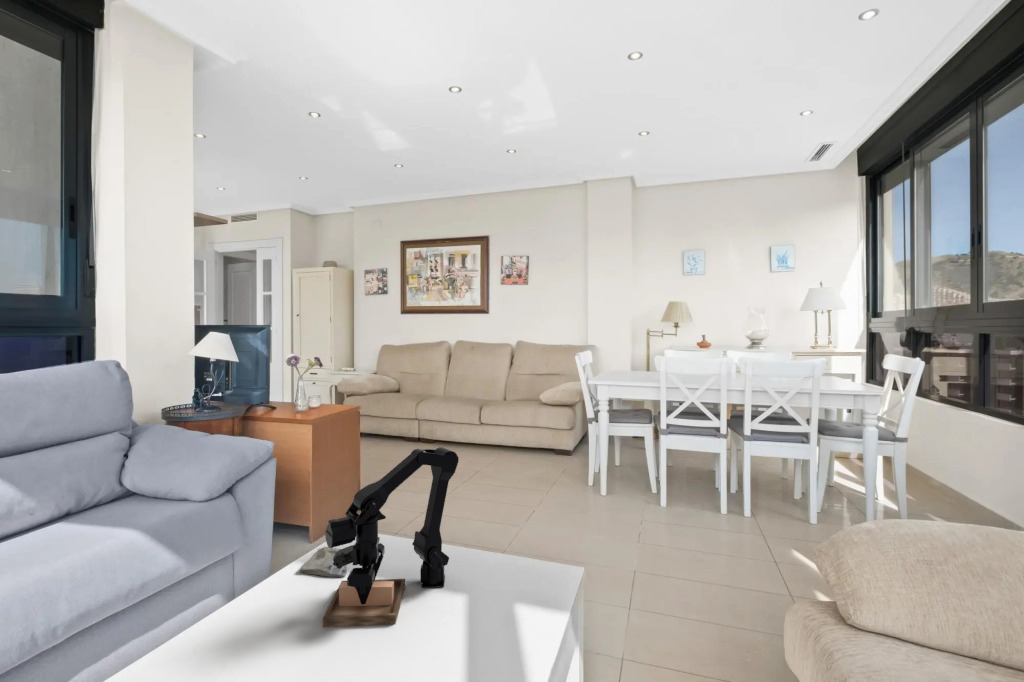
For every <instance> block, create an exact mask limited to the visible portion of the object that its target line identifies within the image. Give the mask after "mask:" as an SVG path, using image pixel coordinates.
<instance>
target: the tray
mask: <svg viewBox="0 0 1024 682" xmlns="http://www.w3.org/2000/svg"><path fill="white" fill-rule="evenodd" d="M374 581H394V601H393V603H392V605H375V606H339V587H340V585H341V583H342V582H347V580H341V582H340V584H339V586H338V588H337V590H336V591H335V594H333V597H332V599H331V601H330V603H329V605H328V606H327V609H326V611H325V613H324V614H323V617H322V628H331V627H332V628H334V627H336V628H337V627H358V626H381V625H396V623H397V620H398V616H399V612H400V609H401V604H402V600H403V596H404V593H405V590H406V589H405V588H406V578H388V579H387V578H383V579H375V580H374Z"/></svg>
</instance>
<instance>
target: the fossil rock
mask: <svg viewBox="0 0 1024 682" xmlns="http://www.w3.org/2000/svg"><path fill="white" fill-rule="evenodd" d="M341 549H342V548H337V547H333V548H329V547H328V546H323V547H321V548H318V549H317V551H316V552H315V553H314V554H313V555H312V556H311V557H310V558H309V559H308V560H307V561H306V562H304V563H303V564H302V565H301V567H300V568H299V573H300V572H301V573H300V574H306V573H307V575H315V576H316V575H317V576H321V577H328V578H330V577H331V578H341V577H343V578H345V577H346V575H347V573H348V568H347V567H348V565H345V566H343V567H342V568H339V569H337V567H336V566H334V565H333V563H334V561H333V557H334V555H335V554H336V552H337V551H339V550H341Z"/></svg>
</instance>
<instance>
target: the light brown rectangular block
mask: <svg viewBox="0 0 1024 682" xmlns="http://www.w3.org/2000/svg"><path fill="white" fill-rule="evenodd" d="M341 582H342V581H341ZM341 582H340V584H341V585H340V584H339V585H340V587H339V586H338V587H339V606H375V605H392V603H393V601H394V581H374V582H373V585H372V588H371V590H370V593H369V596H368V598H367V601H366V604H361V602H360V599H359V596H358V593H357V590H356V588H355V587H350V586H348V585H347V582H342V583H341Z"/></svg>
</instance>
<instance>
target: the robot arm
mask: <svg viewBox="0 0 1024 682" xmlns="http://www.w3.org/2000/svg"><path fill="white" fill-rule="evenodd" d="M458 463H459V456H458V454H457V453H456V452H455V451H453V450H450V449H448V448H445V447H438V448H435V449H431V448H427V449H424V448H423V449H420V448H415V449H413V450H411V452H410V454H409V455H408V456H406V457H405V458H404V459H402V461H400V462H399V463H398V464H397V465H396V466H395V467H393V468H392V469H391V470H390V471H388V472H387V473H386V474H385V475H384V476H382V477H381V478H380V479H379V480H377V481H375V482H373V483H369V484H368V485H366V486H364V487H363V488H361V489H359V490H358V491H357V492H356V493H355V494H354V496H353V500H352V502H351V504H350V506H349V507H348V509H347V510H346V512H345V513H344V514H345V517H340V518H335V519H329V520H328V524H327V525H326V530H325V531H324V533H325V543H326V545H327V547H329V548H337V547H340V546H344V545H347V544H351V545H349V546H345V547H344V548H340V549H341V550H339V551H337V552H336V554H335V555H334V557H333V561H334V563H333V565H334V566H336V567H337V569H339V568H342V567H343V566H345V565H347V566H348V565H350V564H352V566H361V567H354V568H352V569H350V570H351V571H350V572H349V573H348V576H347V577H346V581H347V585H348V586H350V587H355V588H356V590H357V593H358V596H359V599H360V602H361V604H366V601H367V598H368V596H369V593H370V590H371V588H372V585H373V582H374V580H376V577H377V574H378V573H379V569H380V567H381V564H382V562H383V559H384V555H385V550H386V549H385V545H384V544H383V543H381V542H380V539H381V538H380V537H379V521H382V520H385V519H386V518H387V516H385V514H383V513H382V512H381V509H382V507H384V505H386V503H387V501H388V499H389V497H390V495H391V494H392V493H393V492H394V491H395V490H396V489H397V488H398V487H399V486H401V485H402V484H403V483H404V482H405V481H406V480H408V478H410V477H411V476H412V475H413V474H415V472H416V471H418V470H419V469H420V468H421V467H423V466H429V467H430V469H431V474H432V481H431V486H430V491H429V496H428V503H427V505H426V506H427V507H426V512H425V516H424V521H423V526H422V528H421V529H420V531H418V530H415V532H414V540H413V541H412V543H411V545H412V546H413V550H414V553H416V555H418V557H419V558H420V559H421V560H422V564H421V565H420V570H419V571H420V575H419V576H420V577H419V580H420V581H419V582H420V583H421V588H422V589H424V588H427V589H428V588H443V587H445V581H446V580H445V579H446V574H445V566H448V563H449V560H450V557H449V556H448V555H447V554H446V553H445V552H443V551H442V550H443V549H442V548H443V538H442V535H441V523H442V518H443V514H444V508H445V504H446V497H447V492H448V487H449V482H450V480H451V479H452V477H453V476H454V474H455V473H456V472H457V471H456V470H457V467H458ZM358 511H359V513H358ZM353 541H355V543H354V544H352V543H353Z"/></svg>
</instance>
